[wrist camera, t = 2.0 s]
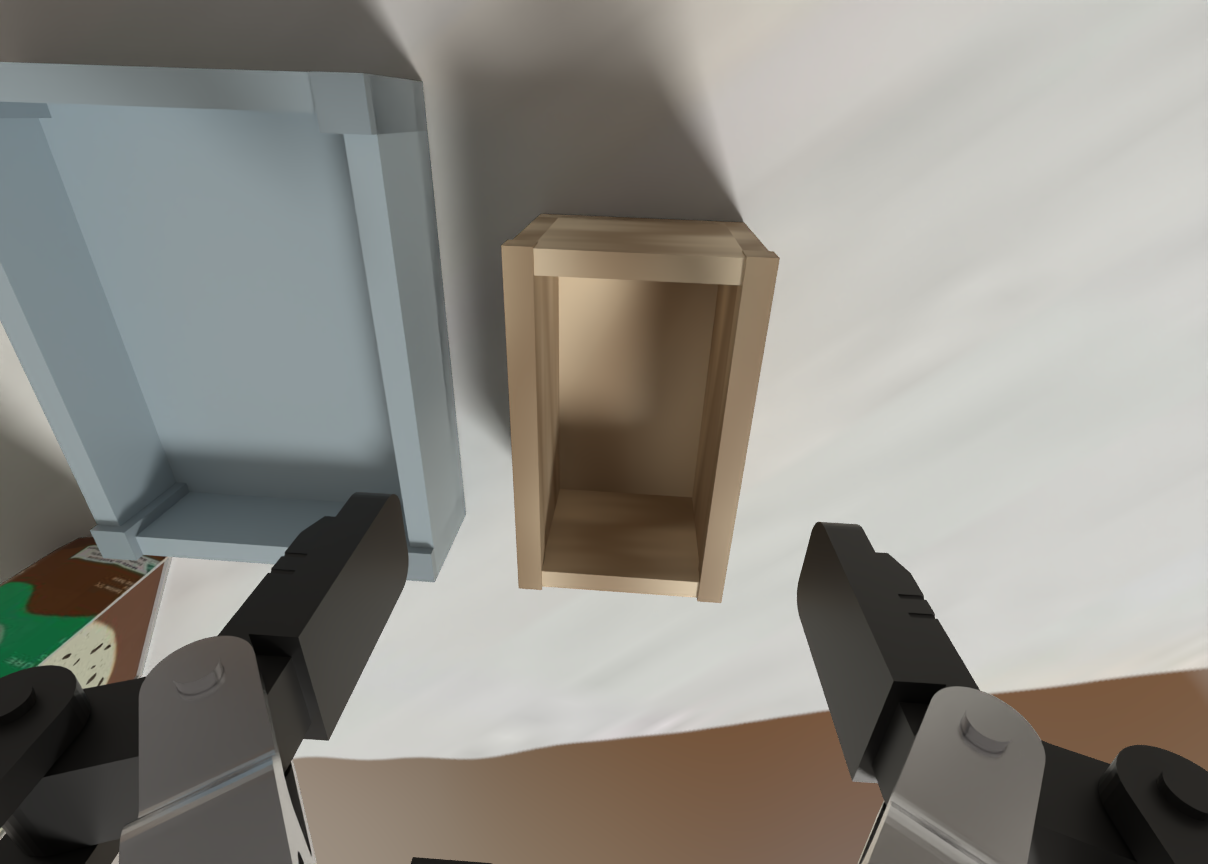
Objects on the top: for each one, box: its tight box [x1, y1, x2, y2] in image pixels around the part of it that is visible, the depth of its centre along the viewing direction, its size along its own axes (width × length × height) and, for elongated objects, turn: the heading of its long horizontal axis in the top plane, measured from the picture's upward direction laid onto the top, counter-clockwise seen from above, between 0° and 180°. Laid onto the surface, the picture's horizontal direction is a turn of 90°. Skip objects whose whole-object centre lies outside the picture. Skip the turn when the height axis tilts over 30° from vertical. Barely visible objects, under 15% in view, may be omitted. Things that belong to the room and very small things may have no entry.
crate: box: [0, 62, 466, 582], centre depth 18 cm, size 12×15×4 cm
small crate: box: [501, 214, 780, 603], centre depth 18 cm, size 6×10×5 cm, turn 178°
